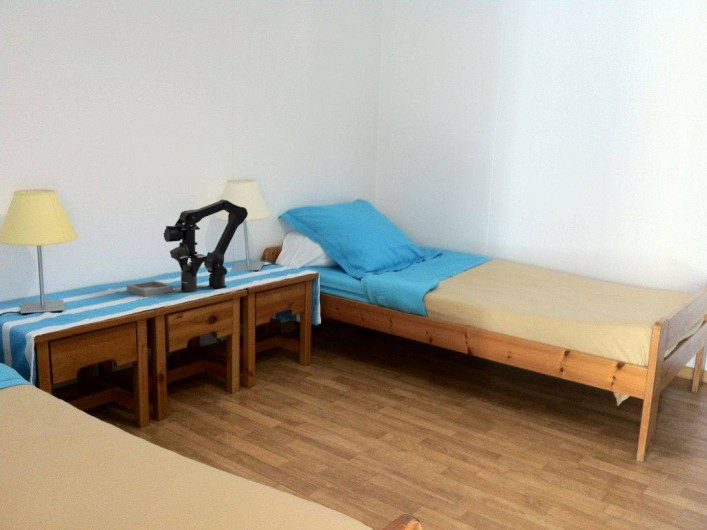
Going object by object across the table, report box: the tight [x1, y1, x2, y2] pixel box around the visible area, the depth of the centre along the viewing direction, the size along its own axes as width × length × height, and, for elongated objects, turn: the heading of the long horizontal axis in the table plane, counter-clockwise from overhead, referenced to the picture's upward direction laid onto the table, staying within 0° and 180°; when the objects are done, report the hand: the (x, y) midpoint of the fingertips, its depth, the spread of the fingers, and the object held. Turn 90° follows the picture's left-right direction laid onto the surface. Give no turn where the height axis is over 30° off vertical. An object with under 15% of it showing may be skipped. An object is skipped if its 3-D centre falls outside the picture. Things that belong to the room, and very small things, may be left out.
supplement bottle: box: [180, 262, 198, 293], centre depth 301 cm, size 7×7×12 cm
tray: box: [126, 280, 174, 297], centre depth 299 cm, size 14×14×3 cm
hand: (188, 275), depth 301 cm, fingers open, 7 cm apart
